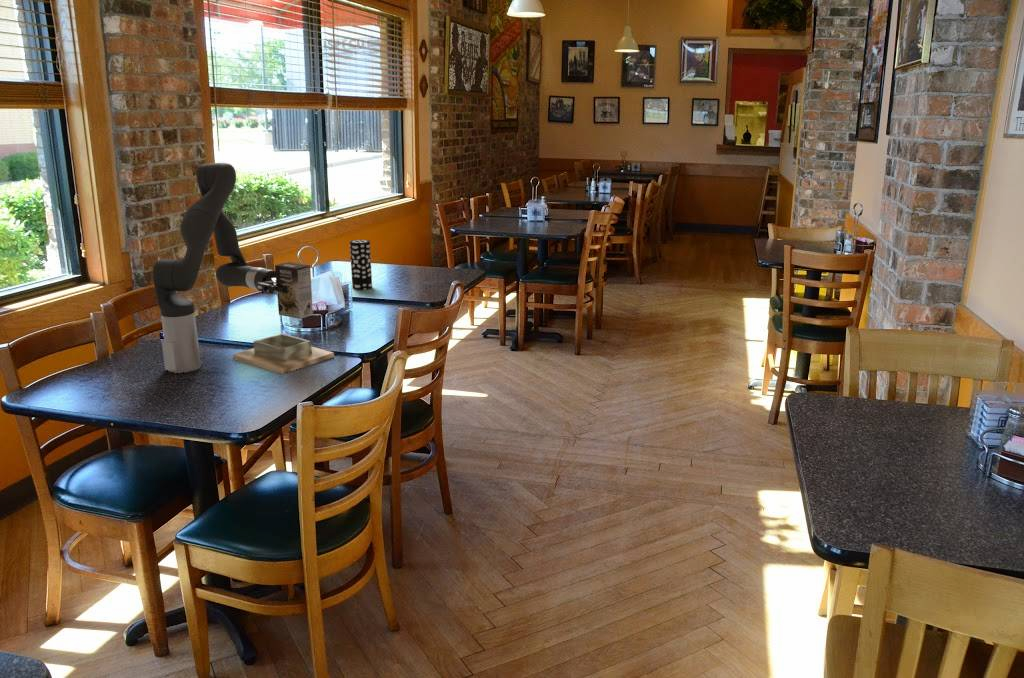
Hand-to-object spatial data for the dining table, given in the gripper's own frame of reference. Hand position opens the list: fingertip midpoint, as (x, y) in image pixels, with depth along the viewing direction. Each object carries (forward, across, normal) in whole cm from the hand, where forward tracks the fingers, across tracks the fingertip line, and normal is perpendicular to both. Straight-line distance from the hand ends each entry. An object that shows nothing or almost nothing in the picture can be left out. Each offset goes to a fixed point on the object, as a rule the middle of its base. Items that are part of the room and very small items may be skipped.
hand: (296, 287), depth 246 cm
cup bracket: (-1, -6, +22) cm, 23 cm away
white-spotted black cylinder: (-50, +74, +22) cm, 92 cm away
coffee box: (-1, 0, +9) cm, 9 cm away
